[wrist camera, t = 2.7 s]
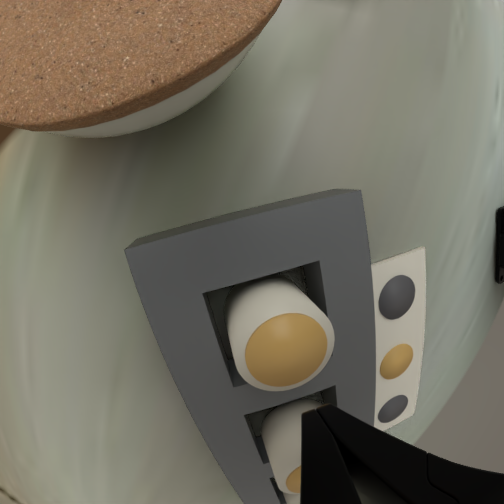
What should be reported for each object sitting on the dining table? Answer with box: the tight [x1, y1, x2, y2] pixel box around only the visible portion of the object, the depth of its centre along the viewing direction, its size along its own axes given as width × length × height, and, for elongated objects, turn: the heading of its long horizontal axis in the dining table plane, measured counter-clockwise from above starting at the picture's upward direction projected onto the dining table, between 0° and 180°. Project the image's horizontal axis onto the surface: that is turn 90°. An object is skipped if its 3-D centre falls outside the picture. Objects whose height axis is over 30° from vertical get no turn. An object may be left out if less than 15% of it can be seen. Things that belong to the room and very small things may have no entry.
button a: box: [224, 273, 335, 391], centre depth 13 cm, size 4×4×4 cm
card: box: [371, 247, 426, 431], centre depth 17 cm, size 5×15×1 cm, turn 13°
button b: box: [261, 399, 323, 494], centre depth 13 cm, size 4×4×4 cm
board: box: [124, 189, 376, 504], centre depth 15 cm, size 10×24×2 cm, turn 13°
